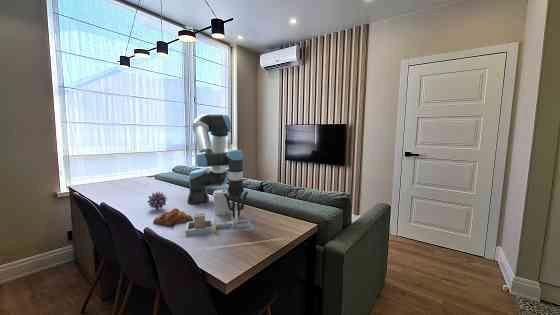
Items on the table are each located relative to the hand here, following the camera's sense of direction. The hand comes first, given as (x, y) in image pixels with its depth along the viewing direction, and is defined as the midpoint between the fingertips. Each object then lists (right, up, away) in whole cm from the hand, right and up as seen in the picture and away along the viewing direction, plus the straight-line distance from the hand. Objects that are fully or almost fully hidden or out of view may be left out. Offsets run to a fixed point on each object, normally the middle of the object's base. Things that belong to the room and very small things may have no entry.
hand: (236, 222), depth 129 cm
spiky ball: (-57, +1, +28) cm, 63 cm away
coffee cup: (-13, -1, +19) cm, 23 cm away
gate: (-6, -2, -2) cm, 7 cm away
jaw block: (-18, -2, -5) cm, 19 cm away
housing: (-9, -3, -3) cm, 10 cm away
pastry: (-37, -2, +6) cm, 37 cm away
